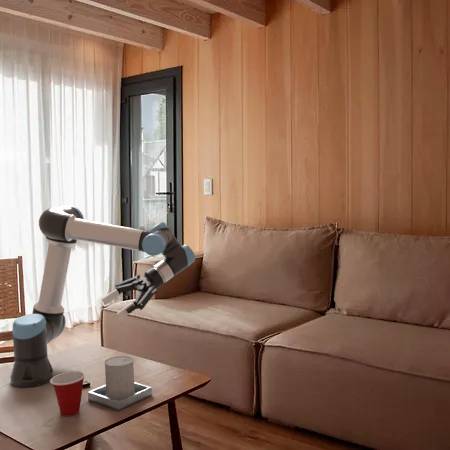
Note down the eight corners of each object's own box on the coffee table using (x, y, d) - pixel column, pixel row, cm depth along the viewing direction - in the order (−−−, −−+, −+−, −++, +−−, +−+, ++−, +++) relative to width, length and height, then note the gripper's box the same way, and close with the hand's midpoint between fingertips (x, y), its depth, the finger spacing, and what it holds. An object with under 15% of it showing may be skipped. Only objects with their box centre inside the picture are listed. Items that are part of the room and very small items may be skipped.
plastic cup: (56, 405, 187) (55, 370, 186) (90, 404, 187) (88, 369, 186) (47, 420, 176) (45, 383, 175) (82, 419, 177) (80, 382, 175)
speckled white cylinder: (128, 402, 187) (127, 366, 185) (101, 401, 189) (99, 365, 187) (139, 391, 196) (137, 356, 195) (112, 390, 198) (111, 355, 197)
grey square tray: (88, 400, 191) (87, 391, 191) (121, 386, 203) (121, 378, 202) (118, 411, 182) (118, 402, 181) (152, 395, 194) (151, 387, 193)
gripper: (178, 294, 202) (129, 330, 194) (147, 272, 222) (101, 304, 214) (170, 278, 198) (120, 315, 191) (139, 257, 218) (92, 289, 210)
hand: (110, 309), depth 202 cm, fingers open, 13 cm apart
